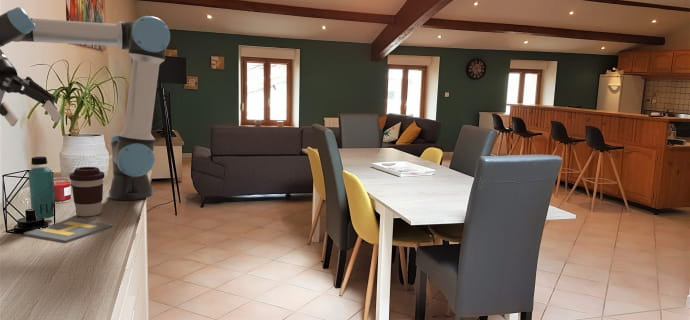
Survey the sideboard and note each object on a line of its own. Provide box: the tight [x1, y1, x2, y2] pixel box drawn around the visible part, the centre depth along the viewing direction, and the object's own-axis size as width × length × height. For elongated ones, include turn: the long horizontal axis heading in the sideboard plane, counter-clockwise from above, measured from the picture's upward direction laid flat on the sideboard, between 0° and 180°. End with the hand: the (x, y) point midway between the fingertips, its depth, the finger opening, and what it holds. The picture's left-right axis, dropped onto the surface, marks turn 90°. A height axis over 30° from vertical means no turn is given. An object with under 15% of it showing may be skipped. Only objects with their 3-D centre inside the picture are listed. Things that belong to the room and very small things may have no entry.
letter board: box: [23, 218, 113, 243], centre depth 145 cm, size 16×16×1 cm
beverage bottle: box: [27, 156, 56, 219], centre depth 153 cm, size 6×7×20 cm
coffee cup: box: [69, 166, 105, 217], centre depth 161 cm, size 10×10×15 cm
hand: (37, 121), depth 143 cm, fingers open, 13 cm apart
